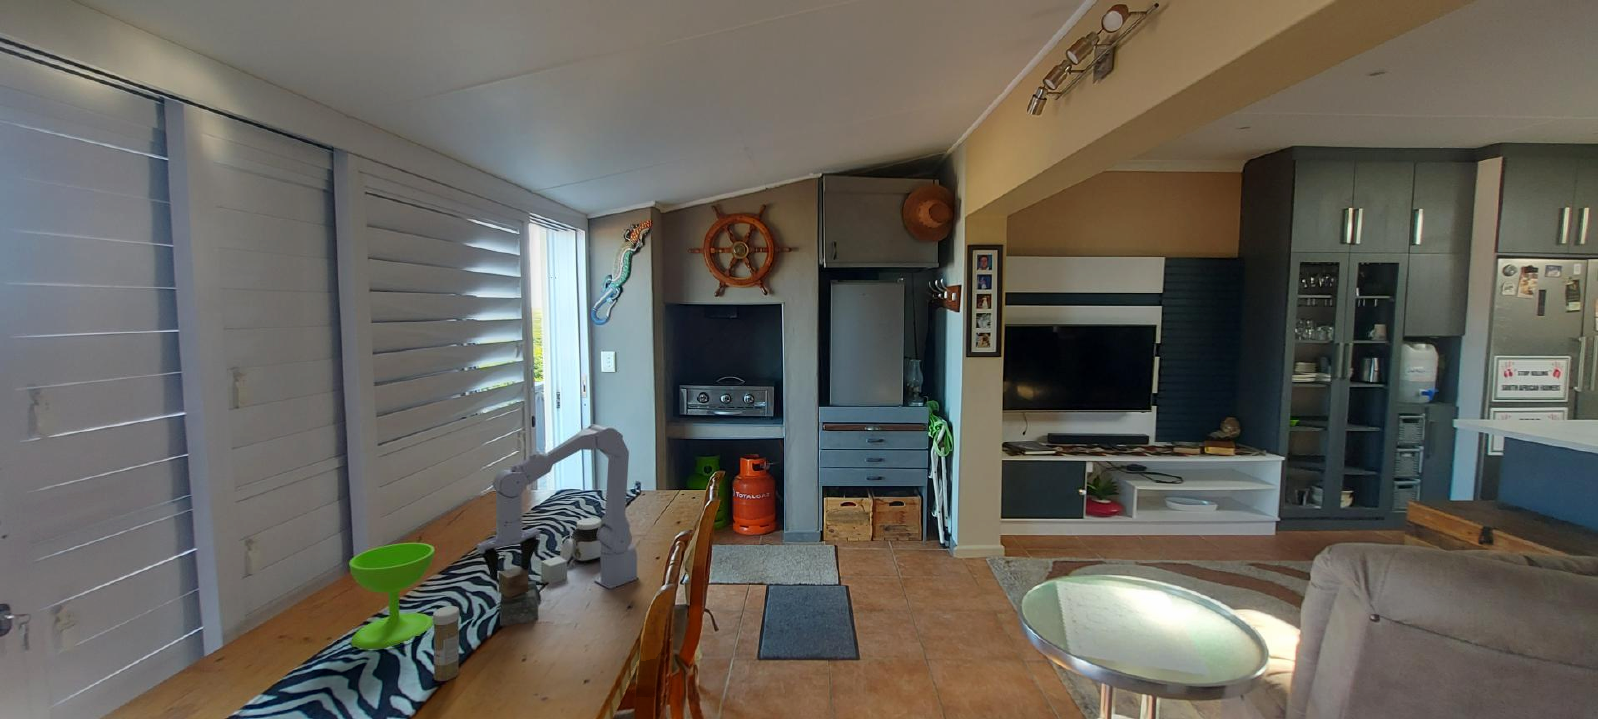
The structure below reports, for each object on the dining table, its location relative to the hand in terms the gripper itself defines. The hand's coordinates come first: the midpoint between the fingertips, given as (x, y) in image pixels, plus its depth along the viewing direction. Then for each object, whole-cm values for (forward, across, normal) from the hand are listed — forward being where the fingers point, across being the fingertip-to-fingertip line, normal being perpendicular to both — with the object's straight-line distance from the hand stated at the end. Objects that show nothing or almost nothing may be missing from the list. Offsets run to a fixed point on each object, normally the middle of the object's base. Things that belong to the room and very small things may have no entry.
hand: (509, 573), depth 147 cm
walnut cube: (+5, 0, -1) cm, 5 cm away
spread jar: (+10, +29, +16) cm, 34 cm away
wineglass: (+10, -22, +9) cm, 26 cm away
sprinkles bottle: (+10, -21, -18) cm, 29 cm away
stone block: (+10, +2, -2) cm, 10 cm away
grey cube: (+10, +17, +10) cm, 22 cm away
